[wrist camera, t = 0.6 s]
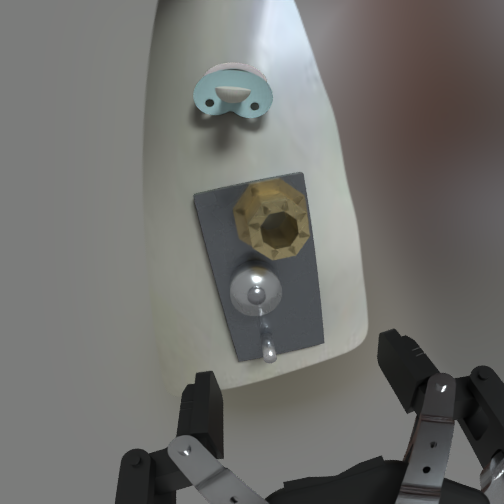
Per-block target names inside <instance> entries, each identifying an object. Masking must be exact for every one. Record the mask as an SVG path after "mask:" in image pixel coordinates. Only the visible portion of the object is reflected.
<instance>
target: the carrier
mask: <svg viewBox="0 0 504 504" xmlns="http://www.w3.org/2000/svg"><path fill="white" fill-rule="evenodd" d="M273 178H280V179H281V180H283V181H284V182H286V183H287V184H289V185H290V186H292V187H293V188H295V189H296V190H297V191H299V192H300V193H302V194H303V195H304V196H305V201H306V207H307V214H308V221H309V232H310V237H309V238H308V240H307V241H306V243H305V244H304V245H303V247H302V248H301V249H300V251H299V252H298V254H297V255H296V256H291V257H287V258H282V259H277V260H271V259H270V258H268V257H266V256H265V255H263V254H261V253H260V252H258V251H256V250H255V249H253V247H252V246H250V245H248V244H247V243H245V242H243V241H242V240H240V239H239V236H238V232H237V227H236V223H235V218H234V214H233V206H234V205H235V203H236V202H237V200H238V199H239V197H240V196H241V194H242V193H243V191H244V190H245V188H246V187H247V185H248V184H249V183H252V182H257V181H262V180H267V179H273ZM193 196H194V201H195V205H196V209H197V213H198V217H199V221H200V225H201V229H202V232H203V236H204V240H205V244H206V248H207V252H208V255H209V259H210V263H211V266H212V270H213V274H214V277H215V281H216V285H217V288H218V292H219V295H220V299H221V302H222V306H223V309H224V313H225V316H226V320H227V323H228V326H229V330H230V333H231V336H232V340H233V343H234V346H235V349H236V353H237V356H238V359H239V361H245V360H250V359H256V358H261V357H264V361H265V362H266V363H273V362H275V361H276V359H277V356H276V354H280V353H285V352H289V351H293V350H298V349H302V348H306V347H310V346H314V345H318V344H322V343H324V332H323V321H322V310H321V300H320V290H319V281H318V272H317V264H316V256H315V248H314V240H313V233H312V226H311V219H310V212H309V205H308V199H307V193H306V186H305V180H304V174H303V173H302V172H298V173H292V174H286V175H281V176H276V177H270V178H265V179H260V180H255V181H250V182H245V183H241V184H236V185H231V186H227V187H222V188H218V189H213V190H209V191H205V192H200V193H196V194H194V195H193ZM285 218H286V215H285V211H282V212H277V213H272V214H269V215H268V216H267V218H266V219H265V221H264V222H263V223H262V225H261V226H262V227H263V228H265V229H266V230H269V229H274V228H278V227H280V225H281V224H282V222H283V221H284V219H285Z"/></svg>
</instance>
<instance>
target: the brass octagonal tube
mask: <svg viewBox="0 0 504 504" xmlns="http://www.w3.org/2000/svg"><path fill="white" fill-rule="evenodd" d="M282 211H285V215H286V218H285V219H284V221H283V222H282V224H281V225H280V227H278V228H274V229H269V230H266V229H265V228H263V227H262V226H261V225H262V223H263V222H264V221H265V219H266V218H267V216H268V215H269V214H272V213H277V212H282ZM233 214H234V218H235V223H236V227H237V232H238V236H239V239H240V240H242V241H243V242H245V243H247V244H248V245H250V246H252V247H253V249H255V250H256V251H258V252H260V253H261V254H263V255H265V256H266V257H268V258H270V259H271V260H277V259H282V258H287V257H291V256H296V255H297V254H298V252H299V251H300V249H301V248H302V247H303V245H304V244H305V243H306V241H307V240H308V238H309V237H310V232H309V221H308V214H307V207H306V201H305V196H304V195H303V194H302V193H300V192H299V191H297V190H296V189H295V188H293V187H292V186H290V185H289V184H287V183H286V182H284V181H283V180H281V179H280V178H273V179H267V180H262V181H257V182H252V183H249V184H248V185H247V187H246V188H245V190H244V191H243V193H242V194H241V196H240V197H239V199H238V200H237V202H236V203H235V205H234V206H233Z"/></svg>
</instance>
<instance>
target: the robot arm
mask: <svg viewBox="0 0 504 504" xmlns="http://www.w3.org/2000/svg"><path fill="white" fill-rule="evenodd" d="M377 359H378V364H379V366H380V368H381V370H382V372H383V373H384V375H385V377H386V378H387V380H388V382H389V383H390V385H391V387H392V389H393V390H394V392H395V394H396V395H397V397H398V399H399V401H400V402H401V404H402V406H403V408H404V409H405V411H406V413H407V414H408V413H410V412H413V411H415V412H416V414H417V416H416V418H415V422H414V426H413V430H412V433H411V437H410V441H409V444H408V447H407V450H406V453H405V455H404V458H403V460H402V461H399V460H385V461H384V460H383V457H382V456H379V457H376V458H373V459H370V460H367V461H364V462H361V463H359V464H357V465H355V466H353V467H352V468H350V469H348V470H346V471H345V472H342V473H341V474H339V475H336V476H328V477H307V478H302V479H297V480H292V481H287V482H283V483H284V488H282V489H279V490H277V491H275V492H274V493H272V494H271V495H269V496H268V497H267V498H265V499H263V498H262V497H261V496H259V495H258V494H257V493H256V492H255V491H253V490H252V489H251V488H250V487H249V486H247V485H246V484H245V483H244V482H243V481H242V480H241V479H240V478H238V477H237V476H236V475H235V474H234V473H233V472H232V471H231V470H229V469H228V468H225V467H224V466H223V465H222V464H221V463H220V462H219V461H218V460H217V459H223V458H224V449H223V398H222V394H221V390H220V388H219V385H218V383H217V380H216V378H215V375H214V373H213V371H206V372H199V373H196V378H195V384H188V385H187V386H186V388H185V390H184V391H183V393H182V399H181V406H180V413H179V421H178V428H177V435H176V438H175V439H173V440H172V441H171V442H170V444H169V446H168V447H167V448H165V449H163V450H159V451H156V452H152V453H149V454H148V453H147V452H146V451H144V450H142V449H132V450H130V451H128V452H127V453H126V454H125V455H124V456H123V458H122V460H121V466H120V472H119V478H118V485H117V492H116V499H115V504H176V490H179V489H182V488H186V487H189V486H192V485H194V486H195V488H196V489H197V490H198V491H199V493H200V494H201V495H202V496H203V497H204V498H205V499H206V500H207V501H208V502H209V503H210V504H504V383H503V382H502V381H501V379H500V378H499V377H498V375H497V374H496V373H495V372H494V370H493V369H491V368H490V367H488V366H478V367H476V368H474V369H473V370H472V372H471V374H470V376H466V377H460V378H453V377H452V376H451V375H449V374H447V373H440V372H439V371H438V369H437V368H436V367H435V366H434V364H433V363H432V362H431V360H430V359H429V358H428V357H427V355H426V354H424V352H423V350H422V349H421V348H420V347H419V345H418V344H417V343H416V342H415V340H413V339H411V338H410V337H408V336H406V335H405V336H402V337H401V336H400V334H399V333H398V332H397V331H396V329H391V330H388V331H385V332H382V333H380V334H379V344H378V355H377ZM454 420H457V421H458V422H459V424H460V426H461V428H462V430H463V431H464V433H465V435H466V437H467V439H468V440H469V442H470V444H471V446H472V448H473V450H474V452H475V454H476V456H477V458H478V460H479V462H480V464H481V466H482V467H483V470H482V472H481V474H480V486H481V491H480V490H477V489H475V488H471V487H469V486H466V485H463V484H460V483H457V482H455V481H452V480H449V479H447V478H444V475H445V471H446V467H447V462H448V458H449V453H450V448H451V443H452V437H453V431H454V425H455V421H454Z"/></svg>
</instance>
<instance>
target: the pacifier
mask: <svg viewBox="0 0 504 504" xmlns="http://www.w3.org/2000/svg"><path fill="white" fill-rule="evenodd" d="M193 95H194V101H195V104H196V106H197V107H198V108H199V109H200V110H201V111H202V112H204V113H206V114H209V115H221V114H224V113H227V112H228V111H233V112H234V113H236V114H237V115H239V116H242V117H246V118H255V117H259V116H261V115H263V114H264V113H266V112H267V111H268V109H269V108H270V106H271V104H272V100H273V95H272V91H271V88H270V86H269V85H268V83H267V79H266V77H265V76H264V74H263V73H262V72H261V71H260V70H258V69H256V68H254V67H253V66H250V65H247V64H242V63H224V64H219V65H216V66H214V67H212V68H211V69H209V70H208V71H207V72H206V73H205V74H204V76H203V78H202V79H201V80H200V81H199V82H198V83H197V85H196V87H195V89H194V94H193ZM208 99H211V100H213V101H214V105H213V106H212V107H207V106H206V105H205V102H206V100H208ZM252 103H258V104H259V109H258V110H252V109H251V108H250V105H251V104H252Z"/></svg>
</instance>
